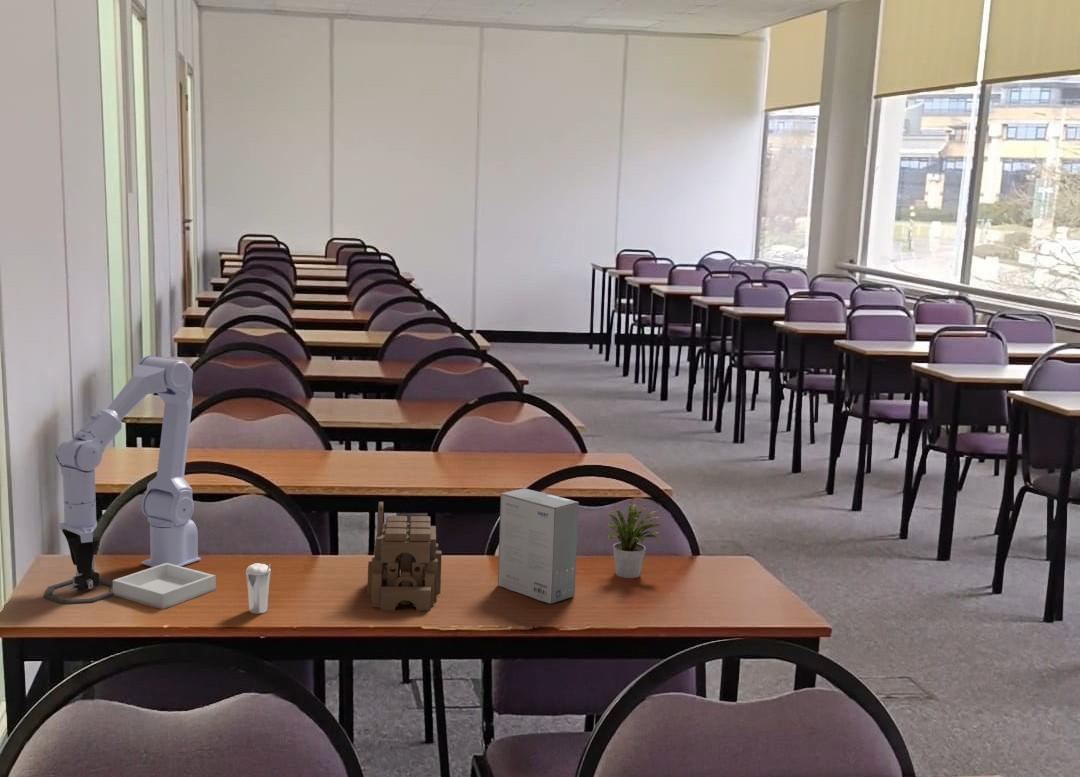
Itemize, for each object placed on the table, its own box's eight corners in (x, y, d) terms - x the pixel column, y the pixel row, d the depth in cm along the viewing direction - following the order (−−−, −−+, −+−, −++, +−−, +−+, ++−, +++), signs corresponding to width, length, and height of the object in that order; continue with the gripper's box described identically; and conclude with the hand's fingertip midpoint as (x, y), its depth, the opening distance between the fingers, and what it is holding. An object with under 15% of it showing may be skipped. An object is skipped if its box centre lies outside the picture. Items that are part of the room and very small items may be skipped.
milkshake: (261, 617, 214) (261, 566, 212) (240, 611, 217) (240, 560, 215) (278, 611, 218) (278, 560, 216) (258, 604, 220) (258, 555, 219)
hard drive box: (576, 597, 232) (580, 502, 229) (550, 605, 227) (555, 508, 224) (521, 578, 243) (524, 486, 240) (495, 585, 237) (499, 492, 234)
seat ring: (86, 576, 232) (86, 574, 232) (131, 589, 226) (131, 587, 226) (30, 594, 221) (30, 592, 221) (76, 608, 215) (76, 606, 215)
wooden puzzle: (441, 611, 221) (443, 518, 218) (365, 611, 220) (366, 517, 217) (439, 575, 243) (442, 489, 240) (370, 574, 241) (371, 488, 239)
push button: (78, 596, 219) (78, 546, 217) (59, 590, 222) (58, 541, 220) (106, 586, 225) (105, 537, 223) (86, 580, 227) (86, 532, 226)
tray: (166, 576, 234) (166, 562, 234) (215, 589, 228) (215, 575, 227) (112, 595, 222) (112, 580, 222) (162, 609, 216) (162, 594, 215)
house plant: (623, 591, 237) (627, 514, 234) (579, 572, 248) (583, 499, 245) (671, 579, 246) (676, 505, 243) (627, 562, 257) (631, 491, 254)
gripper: (51, 493, 225) (53, 560, 227) (63, 512, 212) (65, 582, 215) (89, 490, 228) (91, 555, 230) (103, 508, 216) (105, 577, 218)
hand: (81, 568), depth 223 cm, fingers closed on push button, 5 cm apart
